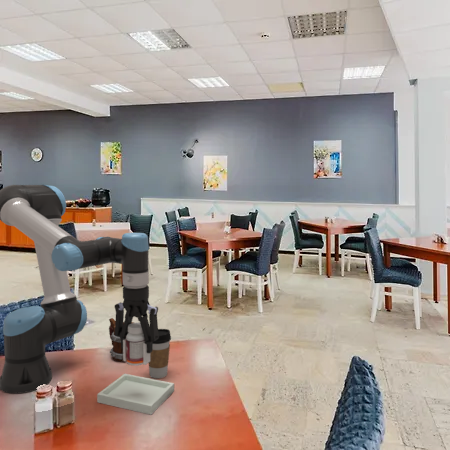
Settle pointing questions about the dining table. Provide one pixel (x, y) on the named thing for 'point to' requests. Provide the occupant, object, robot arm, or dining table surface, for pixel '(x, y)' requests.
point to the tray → (136, 393)
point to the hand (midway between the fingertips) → (136, 360)
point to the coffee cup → (160, 355)
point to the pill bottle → (134, 344)
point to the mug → (115, 343)
